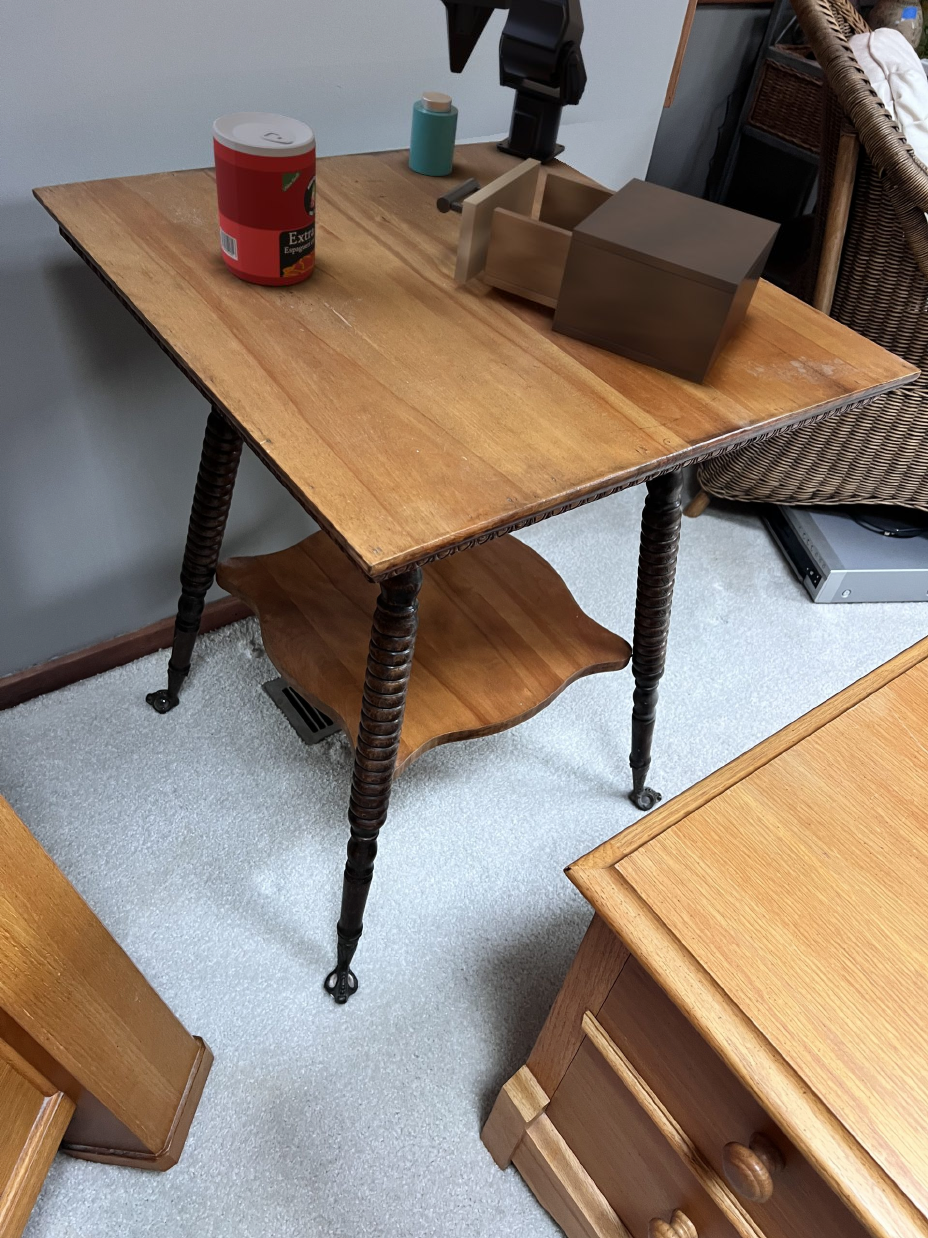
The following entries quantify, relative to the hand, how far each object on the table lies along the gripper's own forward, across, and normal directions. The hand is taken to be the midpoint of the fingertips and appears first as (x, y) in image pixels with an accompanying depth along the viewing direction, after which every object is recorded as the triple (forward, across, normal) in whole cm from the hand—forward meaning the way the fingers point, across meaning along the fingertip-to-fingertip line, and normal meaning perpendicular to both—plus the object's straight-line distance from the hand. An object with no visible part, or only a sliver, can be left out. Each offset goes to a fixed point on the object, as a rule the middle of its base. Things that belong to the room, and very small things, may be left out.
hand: (455, 71), depth 83 cm
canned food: (+11, +20, -16) cm, 28 cm away
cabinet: (+11, +24, +17) cm, 32 cm away
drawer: (+10, +18, +6) cm, 22 cm away
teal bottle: (+11, -7, -1) cm, 13 cm away
